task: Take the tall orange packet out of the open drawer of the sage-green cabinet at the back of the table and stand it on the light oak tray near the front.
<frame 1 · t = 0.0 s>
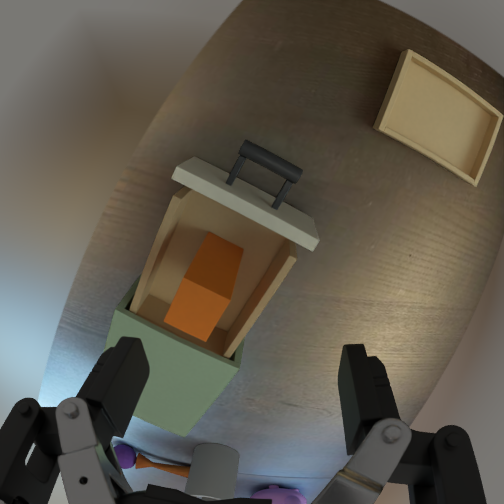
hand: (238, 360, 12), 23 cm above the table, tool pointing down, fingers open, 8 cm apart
kendama: (156, 455, 59), on the table
packet: (216, 259, 33), point 2 cm above the table, touching drawer
cup: (217, 453, 55), on the table
cabinet: (170, 347, 42), on the table
drawer: (220, 252, 31), point 4 cm above the table, slide at 15.0 cm, touching packet
teapot: (279, 490, 62), on the table
tray: (439, 118, 27), on the table
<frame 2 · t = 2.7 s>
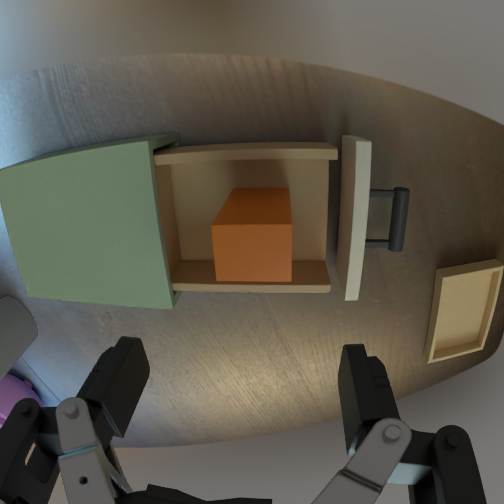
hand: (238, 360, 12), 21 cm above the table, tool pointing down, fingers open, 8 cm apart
packet: (261, 209, 29), point 2 cm above the table, touching drawer
cup: (18, 318, 42), on the table
cabinet: (107, 208, 32), on the table
drawer: (282, 215, 27), point 4 cm above the table, slide at 15.0 cm, touching packet
teapot: (28, 390, 52), on the table
tray: (460, 309, 34), on the table
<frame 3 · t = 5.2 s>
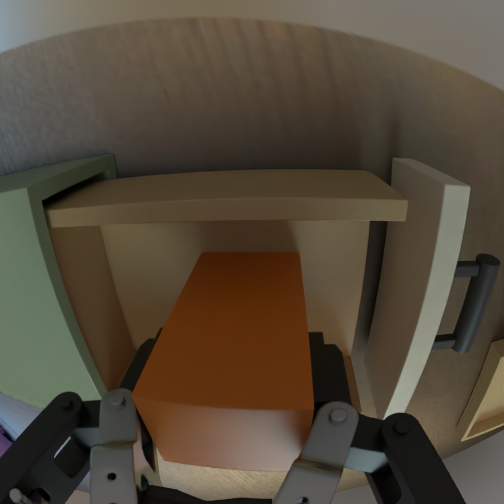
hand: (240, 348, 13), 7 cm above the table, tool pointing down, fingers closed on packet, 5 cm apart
packet: (251, 286, 17), point 2 cm above the table, touching drawer, gripper
cabinet: (33, 265, 20), on the table
drawer: (286, 305, 15), point 4 cm above the table, slide at 15.0 cm, touching packet
teapot: (2, 433, 40), on the table
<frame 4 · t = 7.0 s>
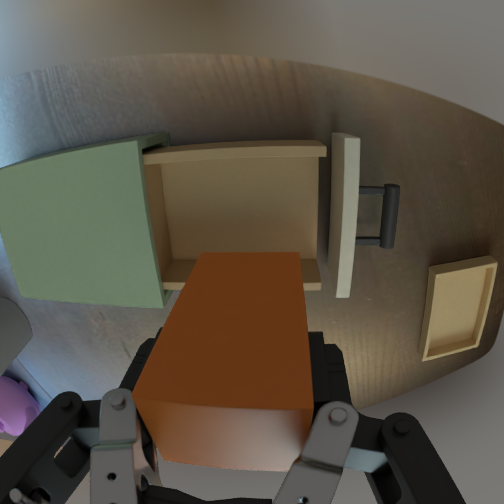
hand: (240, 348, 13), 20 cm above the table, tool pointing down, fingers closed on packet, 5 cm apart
packet: (251, 286, 17), point 15 cm above the table, touching gripper
cup: (13, 319, 42), on the table
cabinet: (98, 209, 32), on the table
drawer: (272, 213, 27), point 4 cm above the table, slide at 15.0 cm
teapot: (24, 392, 52), on the table
tray: (454, 306, 34), on the table
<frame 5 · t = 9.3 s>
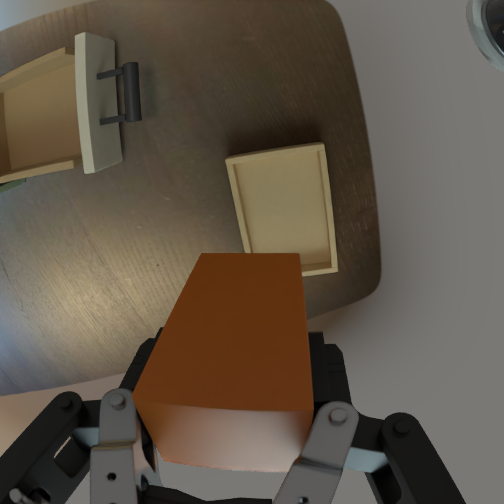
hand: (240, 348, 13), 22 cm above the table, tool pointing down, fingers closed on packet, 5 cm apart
packet: (251, 286, 17), point 17 cm above the table, touching gripper
drawer: (52, 113, 26), point 4 cm above the table, slide at 15.0 cm
tray: (285, 211, 32), on the table
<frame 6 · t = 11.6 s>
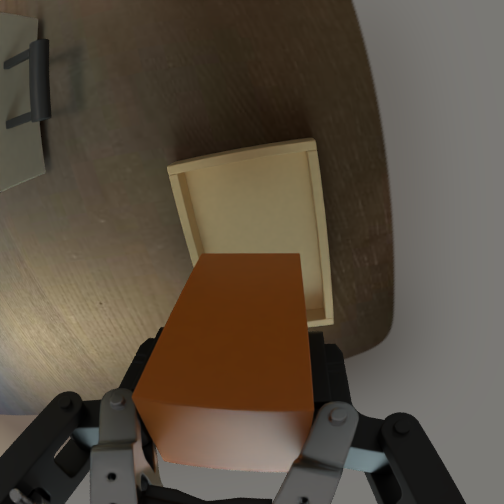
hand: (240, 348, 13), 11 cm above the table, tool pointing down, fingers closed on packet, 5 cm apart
packet: (251, 287, 17), point 6 cm above the table, touching gripper
tray: (259, 240, 23), on the table
when the fingers open (5 cm above the table, at t = 13.5 s): packet stays where it is, resting on tray.
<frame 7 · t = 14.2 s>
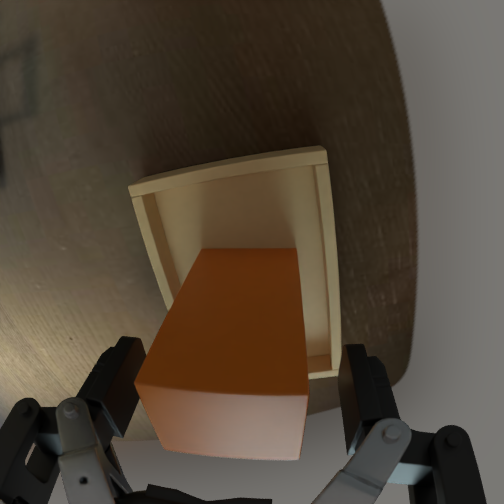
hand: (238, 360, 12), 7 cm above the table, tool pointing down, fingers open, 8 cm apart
packet: (249, 281, 17), resting on tray
tray: (251, 276, 18), on the table
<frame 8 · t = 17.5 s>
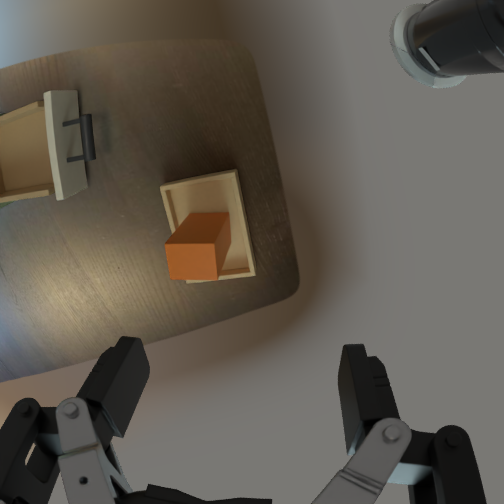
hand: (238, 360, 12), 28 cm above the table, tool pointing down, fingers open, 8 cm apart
packet: (210, 227, 40), resting on tray
drawer: (33, 150, 33), point 4 cm above the table, slide at 15.0 cm
tray: (211, 226, 40), on the table
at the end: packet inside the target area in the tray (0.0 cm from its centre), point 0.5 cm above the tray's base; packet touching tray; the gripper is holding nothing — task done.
